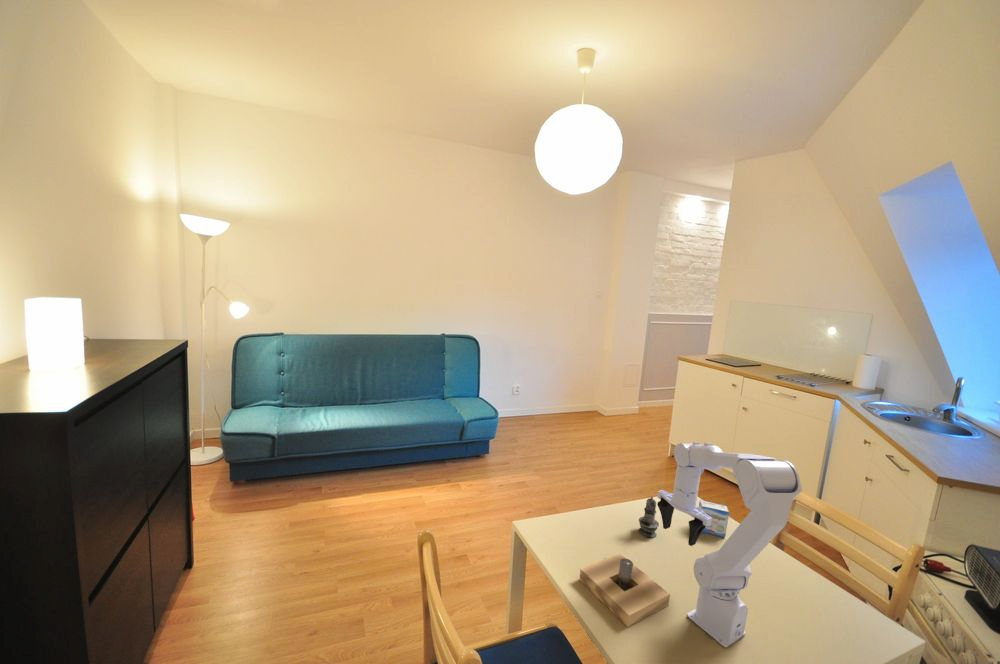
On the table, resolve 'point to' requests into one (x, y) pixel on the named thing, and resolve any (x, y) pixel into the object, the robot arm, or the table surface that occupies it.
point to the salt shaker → (649, 520)
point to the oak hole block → (624, 604)
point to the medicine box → (715, 518)
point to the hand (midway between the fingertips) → (678, 535)
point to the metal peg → (625, 574)
